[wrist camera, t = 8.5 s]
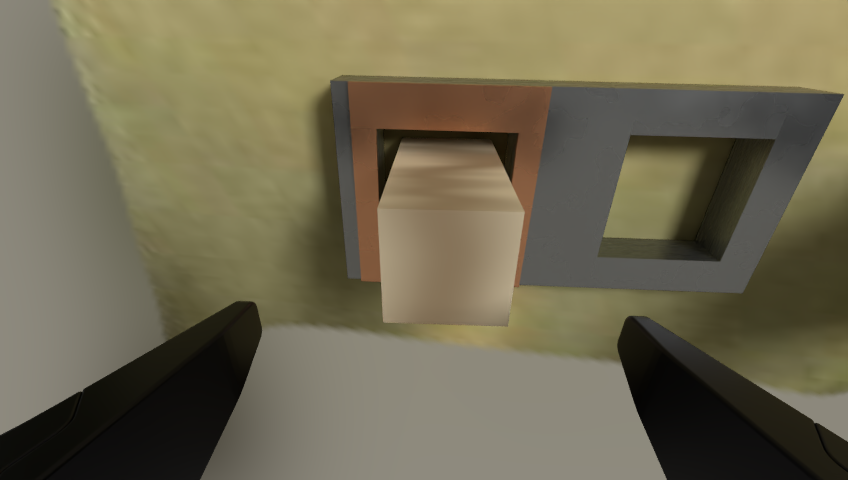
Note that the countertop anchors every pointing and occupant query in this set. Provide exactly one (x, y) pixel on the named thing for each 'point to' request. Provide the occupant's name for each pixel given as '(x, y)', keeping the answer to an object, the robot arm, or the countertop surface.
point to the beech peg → (448, 234)
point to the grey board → (590, 168)
